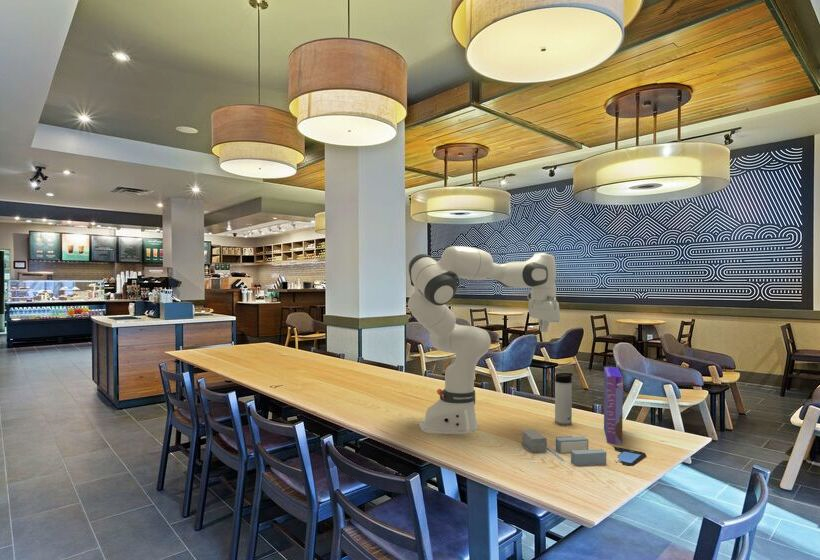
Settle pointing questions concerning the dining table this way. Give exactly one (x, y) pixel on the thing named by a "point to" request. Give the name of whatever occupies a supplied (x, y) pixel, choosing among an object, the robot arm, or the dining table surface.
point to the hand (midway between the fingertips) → (543, 331)
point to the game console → (629, 456)
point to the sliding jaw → (571, 443)
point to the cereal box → (613, 404)
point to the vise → (585, 456)
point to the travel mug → (563, 398)
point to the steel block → (534, 441)
